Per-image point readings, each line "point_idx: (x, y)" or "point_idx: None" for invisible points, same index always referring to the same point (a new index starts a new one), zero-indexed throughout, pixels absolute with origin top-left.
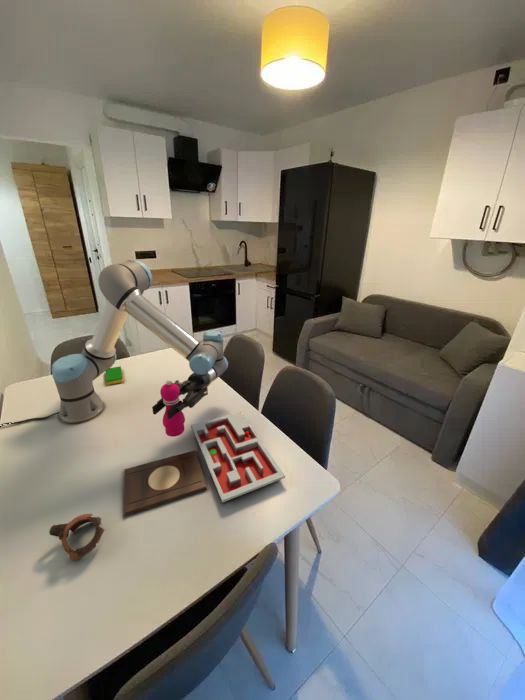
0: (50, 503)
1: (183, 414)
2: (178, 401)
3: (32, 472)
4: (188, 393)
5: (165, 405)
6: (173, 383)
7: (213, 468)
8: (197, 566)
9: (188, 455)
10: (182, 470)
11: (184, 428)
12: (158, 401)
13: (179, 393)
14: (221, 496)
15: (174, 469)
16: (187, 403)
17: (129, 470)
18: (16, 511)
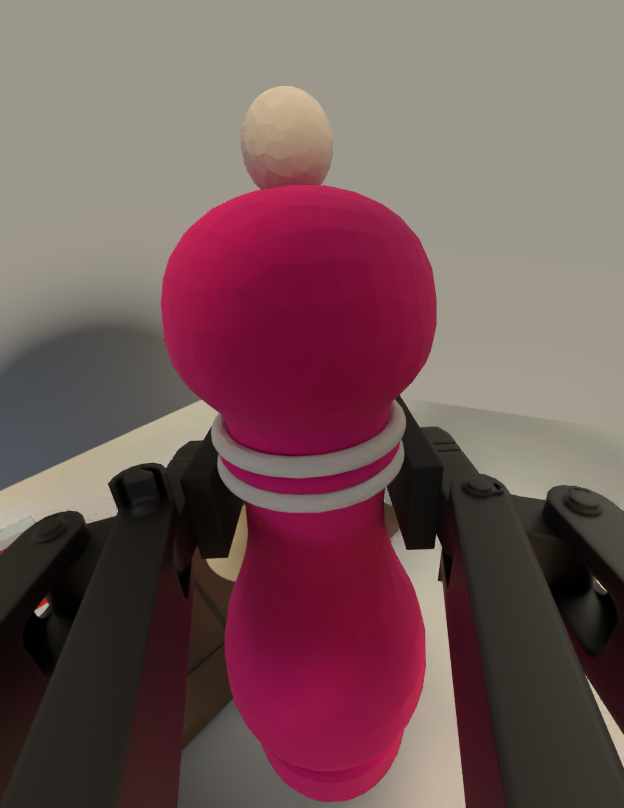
0: (452, 433)
1: (241, 674)
2: (218, 460)
3: (597, 448)
4: (98, 730)
5: (394, 505)
6: (255, 195)
7: (45, 604)
8: (114, 456)
9: (205, 671)
10: (204, 582)
11: (263, 747)
12: (442, 435)
13: (175, 366)
14: (31, 523)
15: (237, 573)
16: (111, 524)
17: (386, 515)
18: (479, 415)
